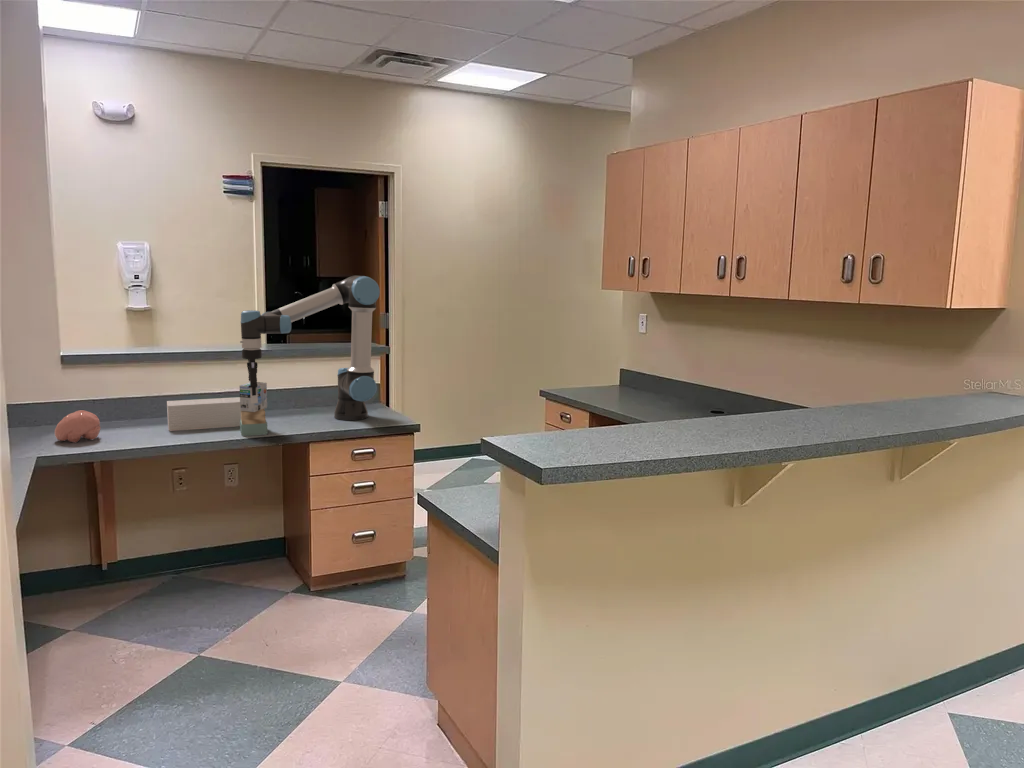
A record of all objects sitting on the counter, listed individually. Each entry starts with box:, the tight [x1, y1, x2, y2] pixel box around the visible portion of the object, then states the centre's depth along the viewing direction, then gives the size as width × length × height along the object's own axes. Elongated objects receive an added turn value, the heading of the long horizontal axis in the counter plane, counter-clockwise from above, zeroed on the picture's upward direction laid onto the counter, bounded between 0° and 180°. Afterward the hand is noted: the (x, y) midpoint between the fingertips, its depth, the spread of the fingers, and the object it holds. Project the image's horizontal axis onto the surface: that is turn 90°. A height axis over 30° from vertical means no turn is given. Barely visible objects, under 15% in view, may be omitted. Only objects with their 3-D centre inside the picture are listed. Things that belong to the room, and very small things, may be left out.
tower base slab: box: [239, 418, 268, 437], centre depth 305 cm, size 10×10×5 cm
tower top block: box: [241, 408, 266, 425], centre depth 304 cm, size 9×9×5 cm
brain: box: [54, 409, 101, 443], centre depth 284 cm, size 16×13×12 cm
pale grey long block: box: [166, 396, 241, 432], centre depth 313 cm, size 32×11×11 cm, turn 116°
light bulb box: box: [239, 381, 268, 412], centre depth 303 cm, size 11×7×11 cm, turn 170°
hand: (253, 399), depth 303 cm, fingers open, 13 cm apart
